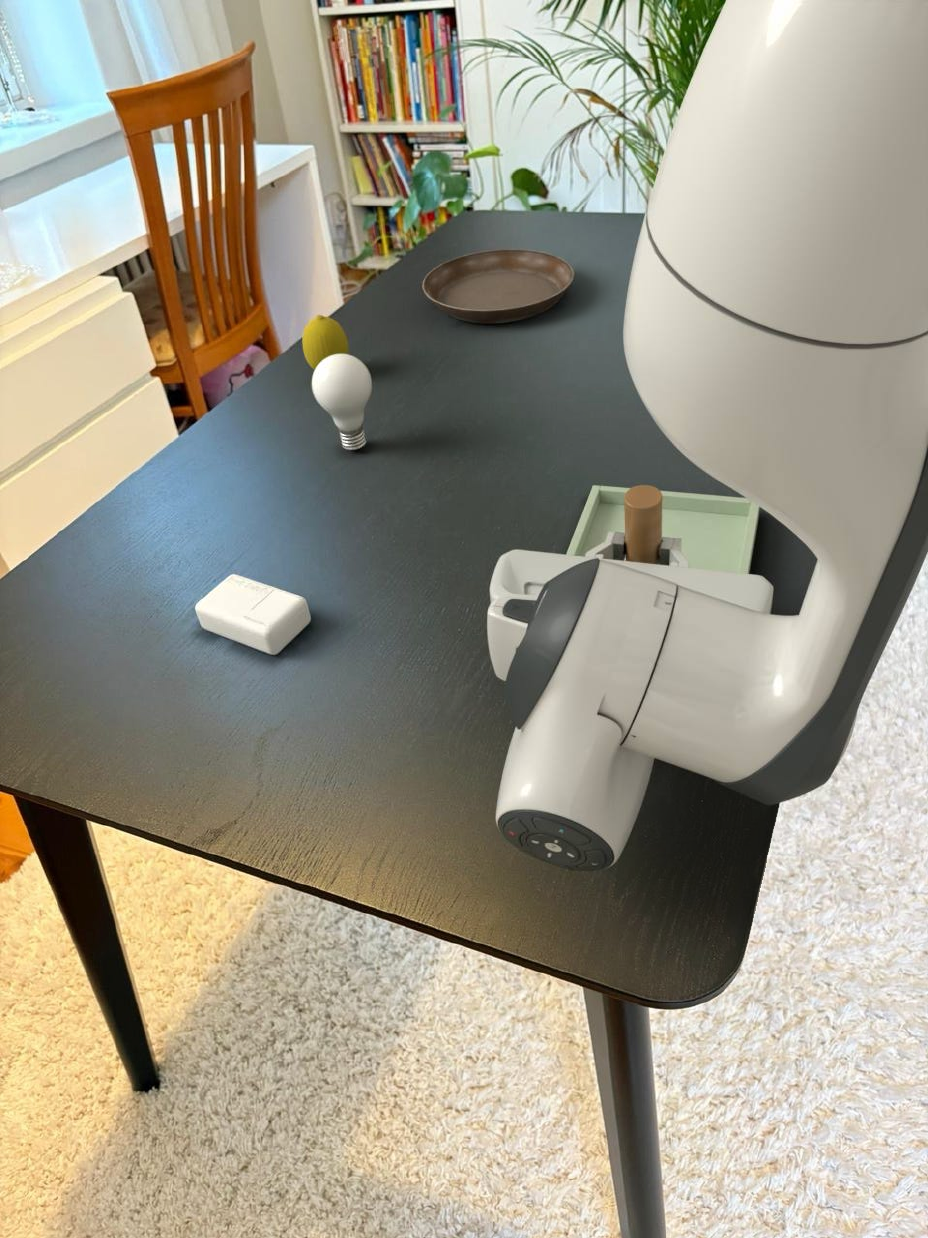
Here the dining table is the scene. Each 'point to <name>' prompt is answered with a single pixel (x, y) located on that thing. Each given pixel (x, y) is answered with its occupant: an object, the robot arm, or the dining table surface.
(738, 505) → the tray
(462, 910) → the dining table surface
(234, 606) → the soap
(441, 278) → the plant saucer
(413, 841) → the dining table surface
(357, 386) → the lightbulb
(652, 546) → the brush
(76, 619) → the dining table surface
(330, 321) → the lemon
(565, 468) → the dining table surface
